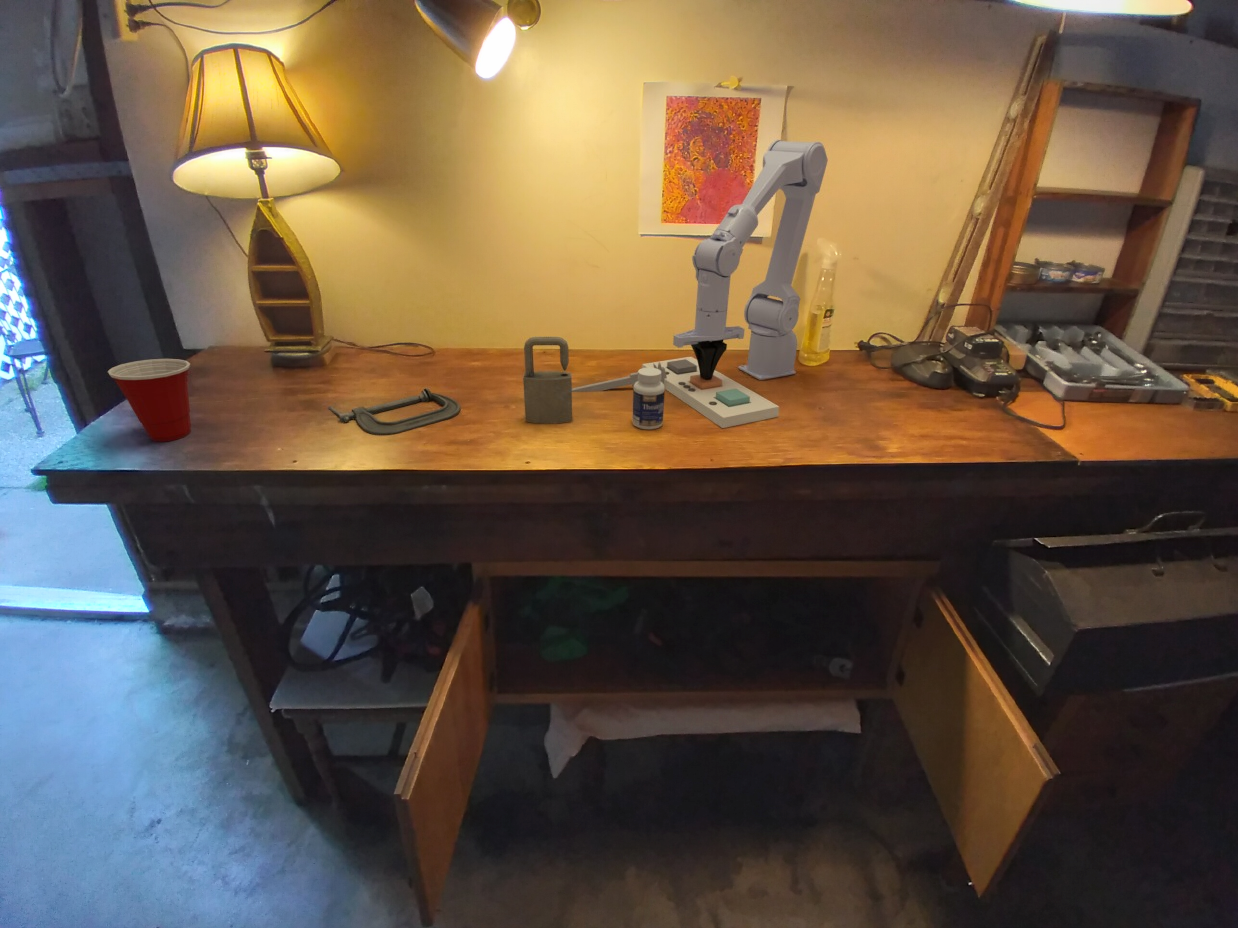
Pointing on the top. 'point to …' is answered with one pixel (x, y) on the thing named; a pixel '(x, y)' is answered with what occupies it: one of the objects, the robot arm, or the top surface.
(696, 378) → the button three
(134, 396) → the plastic cup
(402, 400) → the c clamp
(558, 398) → the padlock
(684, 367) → the button two
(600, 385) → the caliper
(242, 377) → the top surface
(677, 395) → the button panel
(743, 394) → the button one
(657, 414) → the pill bottle
